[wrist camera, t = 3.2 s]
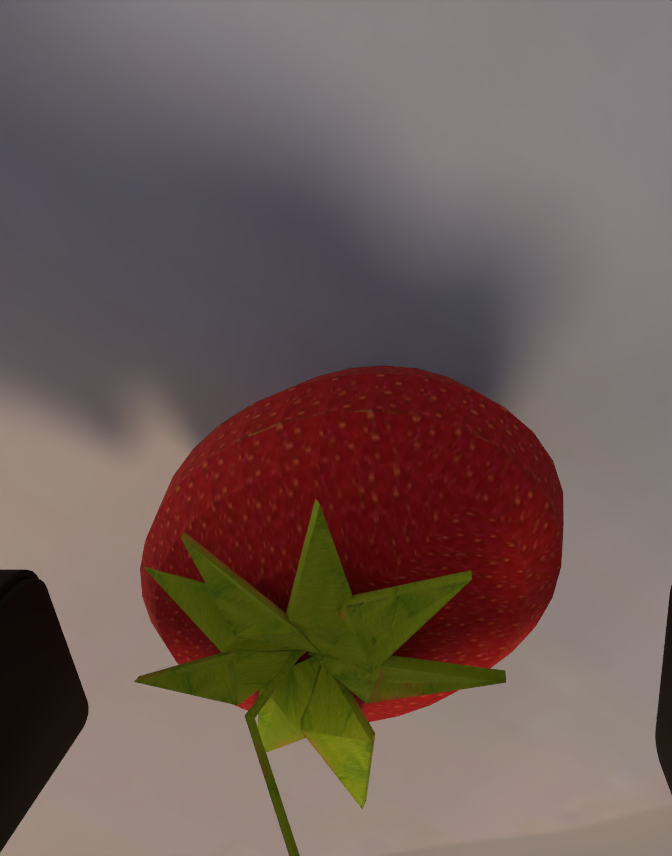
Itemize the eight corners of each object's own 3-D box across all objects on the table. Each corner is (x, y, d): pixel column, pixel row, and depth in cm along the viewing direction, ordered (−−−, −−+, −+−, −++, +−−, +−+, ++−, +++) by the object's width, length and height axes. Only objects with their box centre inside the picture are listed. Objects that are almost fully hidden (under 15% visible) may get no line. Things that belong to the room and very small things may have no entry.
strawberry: (563, 460, 15) (758, 929, 6) (310, 560, 17) (165, 995, 8) (459, 245, 13) (498, 422, 4) (196, 390, 16) (-142, 699, 7)
